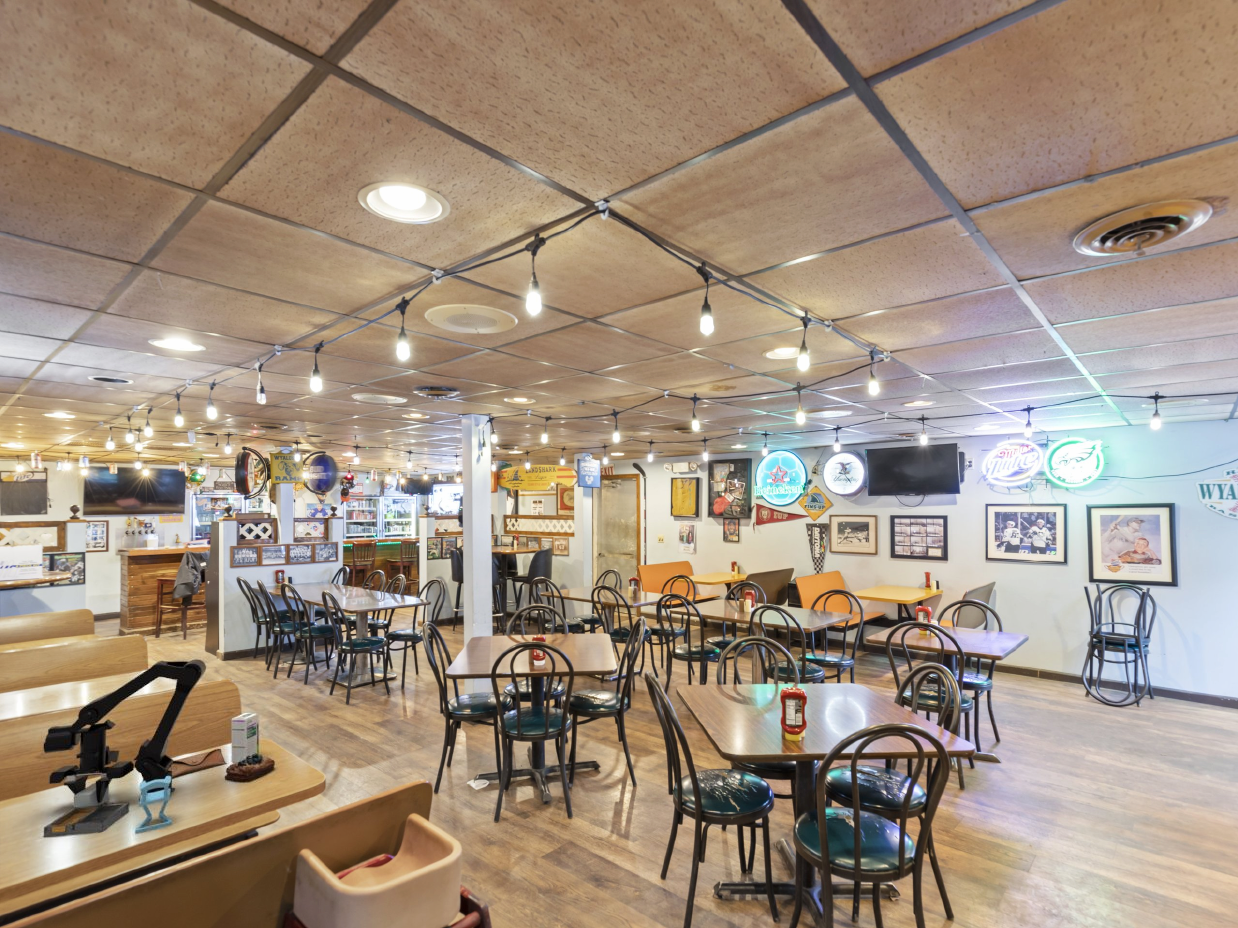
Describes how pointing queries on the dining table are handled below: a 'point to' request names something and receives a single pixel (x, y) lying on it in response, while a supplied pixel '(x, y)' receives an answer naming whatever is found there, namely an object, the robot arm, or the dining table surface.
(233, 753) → the syrup box
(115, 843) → the dining table surface
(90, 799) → the grey rectangular block
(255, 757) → the pastry
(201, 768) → the sunglasses case
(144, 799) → the chair
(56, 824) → the dark grey flat tray
